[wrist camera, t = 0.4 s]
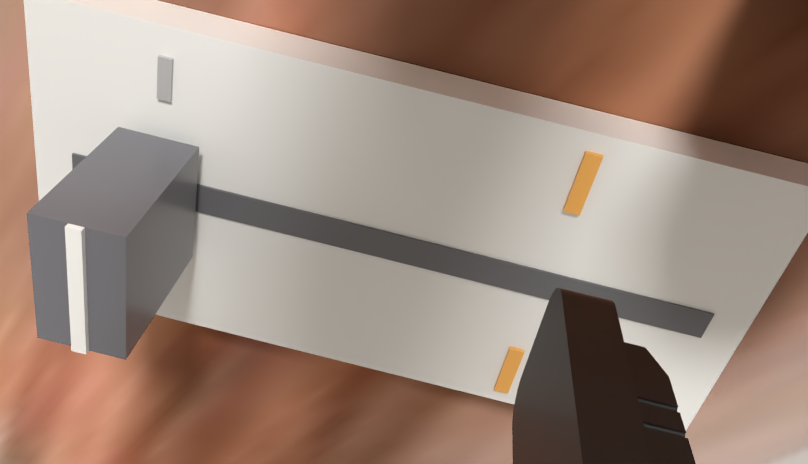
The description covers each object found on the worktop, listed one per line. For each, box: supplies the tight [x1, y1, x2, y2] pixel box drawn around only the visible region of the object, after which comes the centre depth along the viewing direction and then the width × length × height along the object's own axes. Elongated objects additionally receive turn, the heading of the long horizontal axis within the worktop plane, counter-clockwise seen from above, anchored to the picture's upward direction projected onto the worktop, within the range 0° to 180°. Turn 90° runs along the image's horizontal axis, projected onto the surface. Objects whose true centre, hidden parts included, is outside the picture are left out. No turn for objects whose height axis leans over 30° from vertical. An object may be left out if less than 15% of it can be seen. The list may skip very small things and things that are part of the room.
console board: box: [24, 0, 808, 431], centre depth 30 cm, size 13×28×2 cm, turn 78°
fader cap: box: [27, 127, 199, 360], centre depth 26 cm, size 5×3×6 cm, turn 167°
